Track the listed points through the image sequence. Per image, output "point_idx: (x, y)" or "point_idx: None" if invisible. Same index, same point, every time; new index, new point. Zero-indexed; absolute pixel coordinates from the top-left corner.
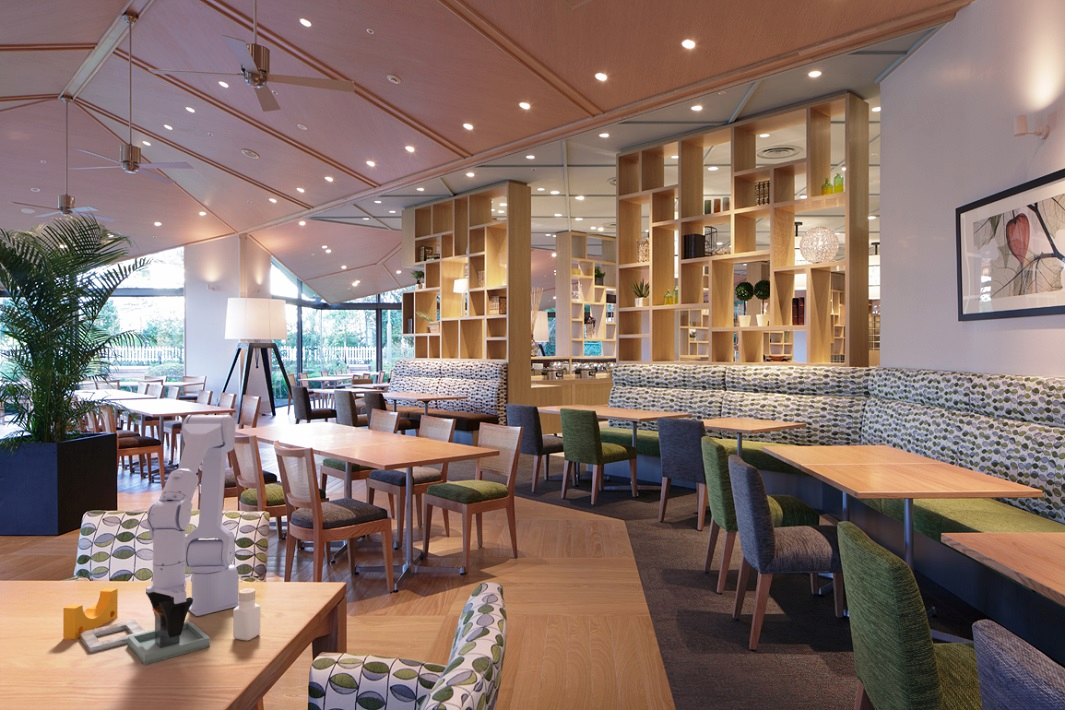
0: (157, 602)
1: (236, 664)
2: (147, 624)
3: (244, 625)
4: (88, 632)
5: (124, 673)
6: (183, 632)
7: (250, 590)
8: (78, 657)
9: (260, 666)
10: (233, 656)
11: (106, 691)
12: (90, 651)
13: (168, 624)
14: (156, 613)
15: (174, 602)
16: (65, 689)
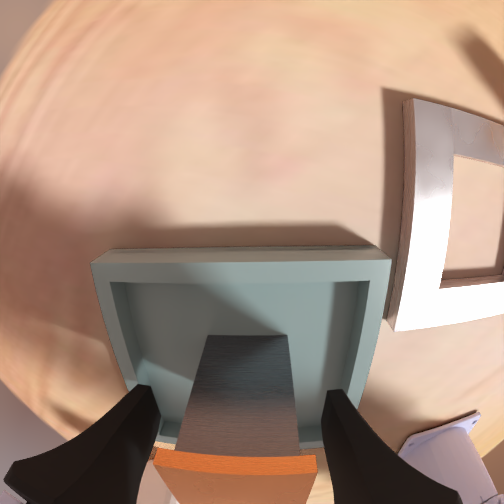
0: (356, 492)
1: (41, 395)
2: (483, 334)
3: (140, 487)
4: None
5: (80, 173)
6: (309, 414)
7: None
8: (384, 56)
9: (29, 406)
10: (78, 414)
11: (11, 119)
12: (405, 102)
13: (95, 422)
14: (216, 458)
15: (9, 498)
16: (94, 7)
